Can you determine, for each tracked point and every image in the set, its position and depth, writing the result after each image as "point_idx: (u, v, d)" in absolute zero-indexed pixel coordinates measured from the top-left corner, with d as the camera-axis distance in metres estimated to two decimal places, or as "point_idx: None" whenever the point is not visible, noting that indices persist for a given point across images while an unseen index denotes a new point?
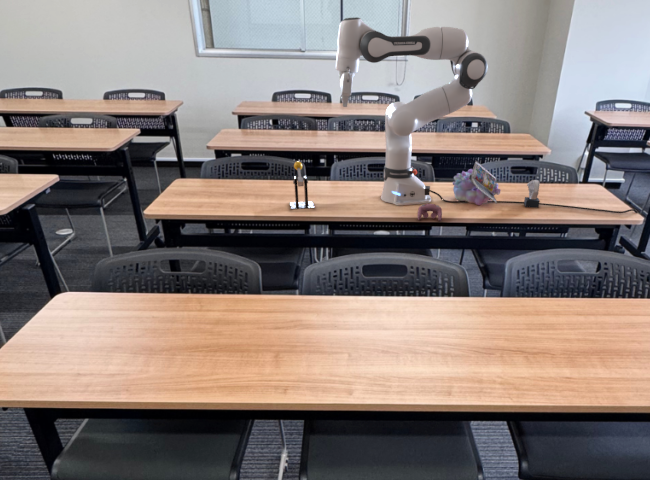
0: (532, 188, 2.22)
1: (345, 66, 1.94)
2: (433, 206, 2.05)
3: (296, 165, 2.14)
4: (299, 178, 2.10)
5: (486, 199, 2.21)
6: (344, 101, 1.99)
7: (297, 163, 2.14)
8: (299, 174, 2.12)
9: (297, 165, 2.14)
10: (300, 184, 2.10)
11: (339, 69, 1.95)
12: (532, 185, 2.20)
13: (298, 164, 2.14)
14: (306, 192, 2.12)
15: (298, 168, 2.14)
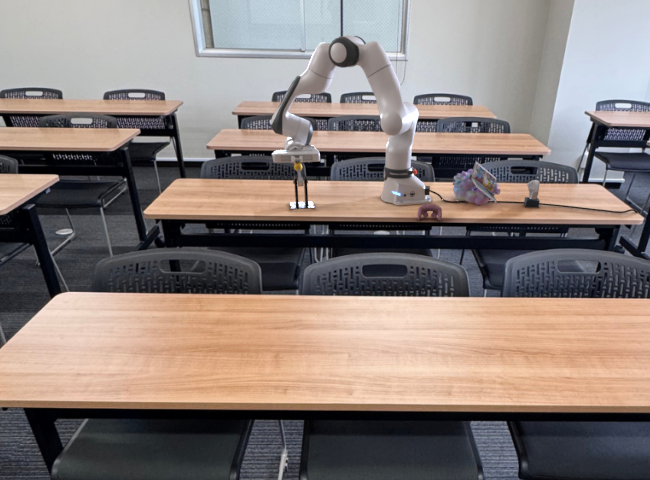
0: (532, 188, 2.22)
1: None
2: (433, 206, 2.05)
3: (296, 166, 2.15)
4: (299, 178, 2.10)
5: (486, 199, 2.21)
6: (293, 160, 2.16)
7: (297, 164, 2.15)
8: (299, 174, 2.13)
9: (297, 166, 2.15)
10: (300, 184, 2.10)
11: None
12: (532, 185, 2.20)
13: (298, 165, 2.15)
14: (306, 192, 2.12)
15: (298, 169, 2.15)
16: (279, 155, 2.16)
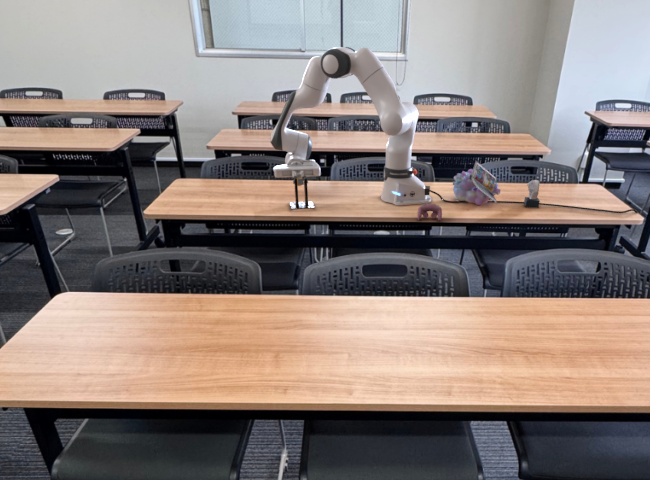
0: (532, 188, 2.22)
1: None
2: (433, 206, 2.05)
3: (297, 179, 2.19)
4: None
5: (486, 199, 2.21)
6: (294, 175, 2.20)
7: None
8: None
9: (298, 178, 2.19)
10: (300, 182, 2.10)
11: None
12: (532, 185, 2.20)
13: (299, 178, 2.19)
14: (306, 192, 2.12)
15: None
16: (280, 170, 2.20)
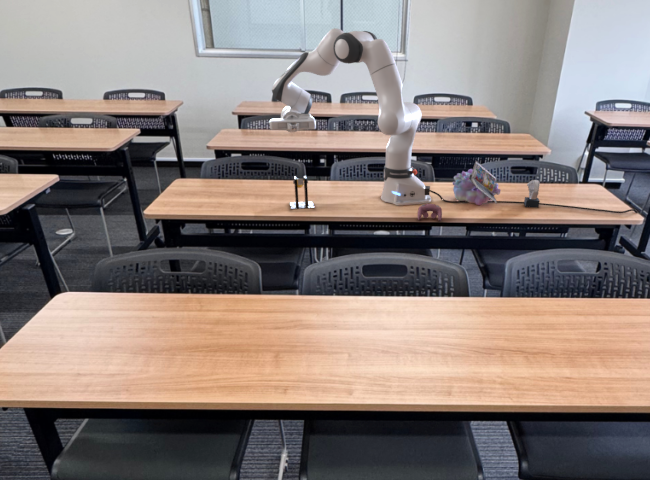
0: (532, 188, 2.22)
1: None
2: (433, 206, 2.05)
3: (297, 180, 2.19)
4: None
5: (486, 199, 2.21)
6: (289, 127, 2.20)
7: (298, 179, 2.20)
8: None
9: (298, 180, 2.19)
10: (300, 182, 2.10)
11: None
12: (532, 185, 2.20)
13: None
14: (306, 192, 2.12)
15: None
16: (276, 122, 2.21)
